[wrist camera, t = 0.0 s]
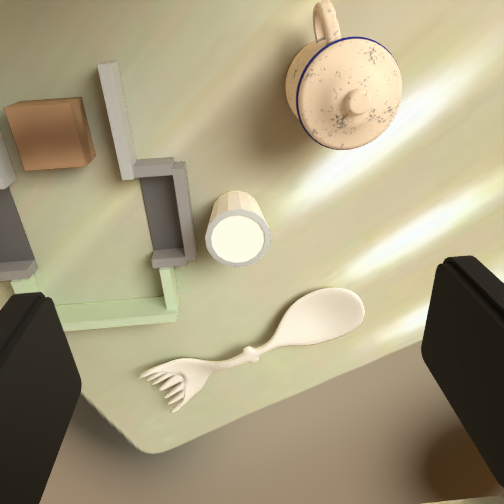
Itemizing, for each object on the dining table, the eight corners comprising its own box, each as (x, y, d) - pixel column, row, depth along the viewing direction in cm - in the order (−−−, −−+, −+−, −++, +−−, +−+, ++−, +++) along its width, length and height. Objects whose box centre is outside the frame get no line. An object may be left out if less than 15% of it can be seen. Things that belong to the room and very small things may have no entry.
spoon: (140, 360, 59) (135, 379, 56) (346, 268, 54) (353, 283, 51) (173, 398, 63) (171, 417, 60) (368, 316, 58) (376, 332, 55)
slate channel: (-55, 72, 39) (-82, 76, 36) (138, 59, 40) (130, 63, 37) (38, 314, 54) (26, 334, 50) (179, 302, 54) (177, 321, 51)
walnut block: (21, 100, 41) (3, 107, 38) (82, 96, 42) (69, 103, 38) (40, 159, 44) (24, 170, 41) (96, 155, 44) (85, 166, 41)
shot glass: (217, 245, 51) (217, 275, 44) (198, 195, 47) (195, 220, 41) (271, 229, 50) (278, 257, 44) (255, 177, 47) (260, 200, 41)
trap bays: (-47, 173, 44) (-61, 181, 42) (184, 156, 45) (182, 162, 43) (-6, 271, 50) (-16, 282, 48) (197, 254, 51) (197, 264, 49)
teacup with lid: (376, 113, 44) (423, 140, 34) (294, 140, 45) (317, 174, 35) (356, -14, 38) (405, -27, 28) (263, 20, 39) (279, 18, 29)
